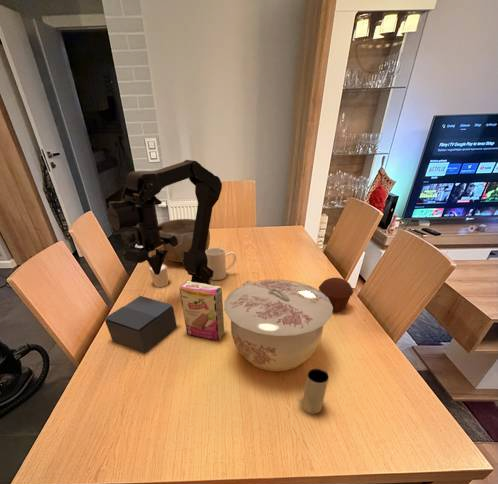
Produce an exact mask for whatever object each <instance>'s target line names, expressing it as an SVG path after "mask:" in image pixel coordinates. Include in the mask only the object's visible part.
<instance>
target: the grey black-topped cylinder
mask: <svg viewBox="0 0 498 484" xmlns="http://www.w3.org/2000/svg"><path fill="white" fill-rule="evenodd" d="M329 379H330V378H329V374H328V372H327V371H325V370H323V369H321V368H312V369H310V370H309V371H308V372H307V377H306V381H305V387H304V392H303V399H302V405H301V406H302V409H303V410H304V411H305V412H306V413H307V414H312V415H315V414H318V413H320V412H321V411H322V408H323V404H324V400H325V396H326V391H327V387H328V384H329V383H328V382H329Z"/></svg>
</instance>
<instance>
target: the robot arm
mask: <svg viewBox="0 0 498 484" xmlns="http://www.w3.org/2000/svg"><path fill="white" fill-rule="evenodd" d="M125 179H126V180H125V186H124V189H123V191H122V194H121V198H120V200H118V201H113V200H112V201H108V208H107V214H106V217H107V220H108V223H109V224H110V226H111V227H112V229H114V230H115V231H122V230H125V229H129V228H130V229H131V228H134V232H132V233H131V232H129V231H125V232H122V233H120V237H121V241H122V243H123V244H124V245H128V247H129V248H127V249H125V250H124V251H123V258H124V260H125V261H128V262H133V263H137V264H142V263H144V262H147V263H148V264H149V267H150V266H151V268H152V270H153V271H154V273H155V274H156V275H158V274H159V273H160V270H161V267H162V264H164V261H165V259H166V258H165V256H166V253H168V251H167V250H164V248H163V246H164V245H166V244H168V243H170V245H171V246H172V247H175V246H177V245H178V240H177V238H176V237H175V236H174V235H168V234H162V235H160V232H159V231H160V230H162V226H159V220H158V214H157V209H156V207H157V206H159V205H162V203H163V202H162V201H161V200H160V199H159V198H157V197H156V195H158V194H159V193H160V192H161V191H162V190H163V189H164V188H166V187H168V186H170V185H173V184H176V183H179V182H182V181H185V180H187V179H188V180H189V182H190V183H191V184H192V185H194V187H195V188H194V193H195V194H194V195H195V198H196V200H197V208H196V213H195V214H196V215H195V226H194V233H193V239H192V245H191V248H190V250H189V251H188V252H186V251H185V252H184V259H183V261H182V262H181V263H182V266H183V269H184V271H185V272H187V274H188V275H189V276H191V280H190V281H192V282H198V283H203V284H209V285H212V283H211V279H210V278H212V277H213V273H214V271H213V270H211V269H210V268H209V267H207V264H208V259H207V256H206V252H205V249H206V243H207V237H208V231H210V225H211V221H212V220H211V219H212V213H213V208H214V206H215V205H216V204H217V202H218V200H219V199H220V196H221V193H222V189H223V183H222V181H221V178H220V177H219V176H218V175H215V174H214V173H212V172H211V171H210V170H209V169H207V168H205V166H203V165H202V164H201V163H200V162H198V161H197V160H193V159H185V160H184V161H181V162H178V163H175V164H172V165H169V166H166V167H161V168H159V169H155V170H136V171H130V172H128V173H127V174H126V178H125ZM133 245H136V246H133ZM137 246H138V247H137Z"/></svg>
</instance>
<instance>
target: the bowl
mask: <svg viewBox="0 0 498 484" xmlns="http://www.w3.org/2000/svg"><path fill="white" fill-rule="evenodd" d="M195 220H196V218H195V219H194V218H175V219H171V220H165V221H163V222H160V223H158V225H159V226H162V230H160V231H159V232H160V235H162V234H168V235H174V236H175V237H176V238H177V240H178V245H177V246H175V247H172V246H171V245H170V243H168V244H166V245H164V246H163V248H164V250H167V251H168V253H166V256H165V258H164V259H167V260H169V261H171V262H176V263H182V261H183V259H184V252H185V251H186V252H188V251H189V250H190V248H191V245H192V239H193V233H194V226H195ZM210 241H211V232H210V230H209V231H208V237H207V243H206V249H205V251H206V250H208V249H210V243H211V242H210Z"/></svg>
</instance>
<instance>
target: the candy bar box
mask: <svg viewBox="0 0 498 484" xmlns="http://www.w3.org/2000/svg"><path fill="white" fill-rule="evenodd" d="M178 289H179V293H180V294H179V295H180V299H181V300H180V301H181V306H182V313H183V318H184V323H185V324H184V325H185V329H186V330H185V331H186V334H187V335H189V336H194V337H199V338H202V339H207V340H212V341H217V342H219V341H220V340H221V339H222V337H223V336H224V335H225V319H224V304H223V303H224V302H223V287H222V286H219V285H215V284H211V285H209V284H203V283H198V282H192V281H191V280H186V281H185V282H184V283H182V285H180V287H178Z"/></svg>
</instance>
